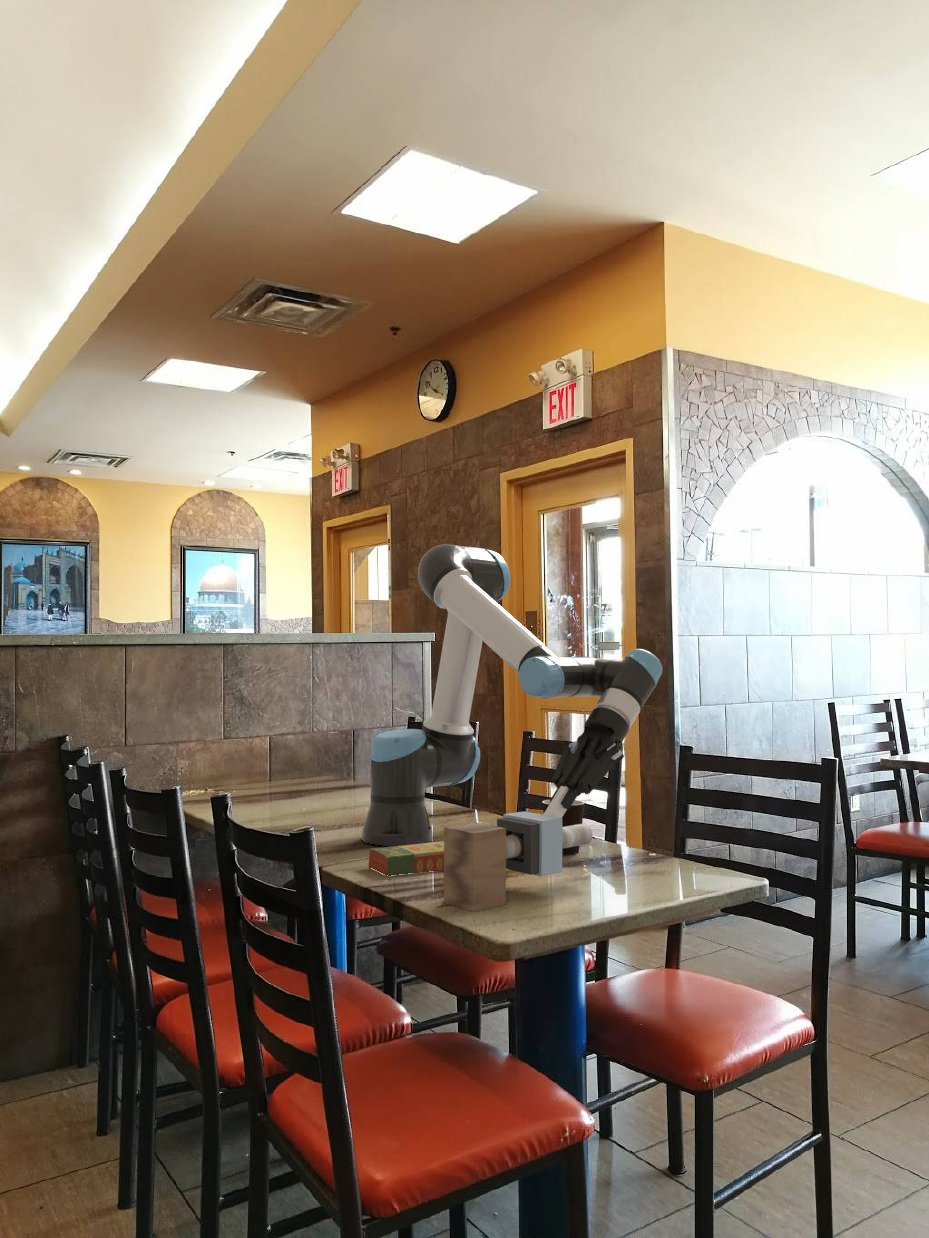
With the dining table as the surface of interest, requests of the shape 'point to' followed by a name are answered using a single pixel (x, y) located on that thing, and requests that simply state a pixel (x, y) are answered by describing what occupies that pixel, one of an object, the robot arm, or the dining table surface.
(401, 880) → the dining table surface
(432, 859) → the carton
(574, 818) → the coffee mug
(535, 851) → the dark gray square plate
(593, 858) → the dining table surface
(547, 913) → the dining table surface
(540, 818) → the sleeve
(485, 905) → the pipe mount
